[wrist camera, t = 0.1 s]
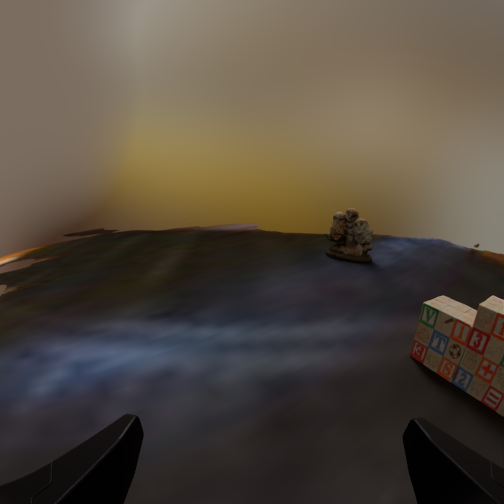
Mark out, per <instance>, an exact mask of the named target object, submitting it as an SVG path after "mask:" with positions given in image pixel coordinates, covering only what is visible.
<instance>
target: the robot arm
mask: <svg viewBox="0 0 504 504" xmlns="http://www.w3.org/2000/svg"><path fill="white" fill-rule="evenodd" d="M143 436H144V433H143V429H142V426H141V422H140V419H139V417H138V416H135V415H131V414H125V415H124V416H122V417H121V418H119V419H118V420H116V421H115V422H113V423H112V424H110V425H109V426H107V427H106V428H104V429H103V430H101V431H100V432H98V433H97V434H95V435H94V436H92V437H91V438H89V439H88V440H86V441H85V442H83V443H81V444H80V445H78V446H77V447H75V448H74V449H72V450H70V451H69V452H67V453H66V454H64V455H62V456H61V457H59V458H57V459H56V460H54V461H53V462H52V463H49V464H47V465H46V466H44V467H42V468H40V469H38V470H37V471H35V472H33V473H31V474H28V475H26V476H24V477H22V478H19V479H17V480H14V481H12V482H9V483H6V484H4V485H1V486H0V504H124V501H125V498H126V496H127V493H128V490H129V487H130V485H131V482H132V479H133V477H134V474H135V470H136V466H137V462H138V457H139V453H140V449H141V445H142V441H143ZM403 444H404V449H405V454H406V460H407V465H408V471H409V475H410V479H411V482H412V485H413V489H414V492H415V496H416V499H417V503H418V504H504V469H503V468H502V467H500V466H498V465H496V464H495V463H493V462H491V461H489V460H488V459H486V458H485V457H483V456H482V455H480V454H478V453H477V452H475V451H474V450H472V449H470V448H469V447H467V446H466V445H464V444H463V443H461V442H460V441H458V440H456V439H455V438H453V437H452V436H450V435H449V434H447V433H446V432H444V431H443V430H441V429H440V428H438V427H437V426H435V425H434V424H432V423H431V422H429V421H428V420H426V419H425V418H423V417H418V418H414V419H412V420H410V422H409V424H408V426H407V428H406V430H405V432H404V434H403Z"/></svg>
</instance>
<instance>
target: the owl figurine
mask: <svg viewBox="0 0 504 504" xmlns="http://www.w3.org/2000/svg"><path fill="white" fill-rule="evenodd" d="M333 217H334V218H333V223H332V226H331V228H330V233H325V236H327V237H328V240H330V241H334V242H336V243H338V244H336V245H333V246H331V247H330V248H329V249H327V250H326V255H327V256H329V257H332V258H334V254H335V258H336V259H338V260H343V261H348V262H355V263H364V262H365V263H369V262H371V261H372V257H371V256H370V255H369V254H368V253H367V251H370V250H372V248H373V247H372V246H370V245H369V244H370V242H371V240H372V236H373V234H372V233H373V230H372V229H371V228H370V227H369V225H368V222H367V220H365V219H363V218H359V214H358V212H357V210H356V209H354V208H349V209H347V211H346V214H343V213H342V212H337V213H335V214H334V216H333Z"/></svg>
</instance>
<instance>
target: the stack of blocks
mask: <svg viewBox="0 0 504 504" xmlns="http://www.w3.org/2000/svg"><path fill="white" fill-rule="evenodd" d="M414 339H415V340H414V342H413V345H412V348H411V351H410V356H411V357H413V358H415V359H416V360H418V361H419V362H421V363H423V365H425V366H426V367H428V368H429V369H431V370H432V371H434V372H436V373H437V374H439V375H440V376H442V377H443V378H445V379H446V380H448V381H449V382H452V383H453V384H454V385H456V386H457V387H459V388H460V389H462V390H463V391H465V392H467V393H468V394H470V395H471V396H473V397H475V398H476V399H478V400H479V401H481V402H482V403H483V404H485V405H486V406H488V407H489V408H491V409H493V410H494V411H496V412H497V413H498V414H500V415H502V416H503V417H504V300H502V299H500V298H497V297H495V296H491V297H490V298H488V299H487V300H486V301H485V302H483V303H481V304H479V307H478V311H477V310H474V309H472V308H470V307H468V306H466V305H464V304H461V303H459V302H456V301H454V300H452V299H450V298H448V297H445V296H440V297H437V298H434V299H433V300H430V301H427V302H424V303H423V307H422V311H421V315H420V319H419V324H418V328H417V331H416V335H415V338H414Z"/></svg>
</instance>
